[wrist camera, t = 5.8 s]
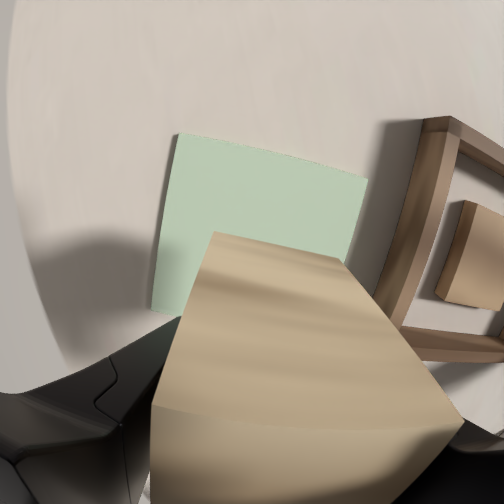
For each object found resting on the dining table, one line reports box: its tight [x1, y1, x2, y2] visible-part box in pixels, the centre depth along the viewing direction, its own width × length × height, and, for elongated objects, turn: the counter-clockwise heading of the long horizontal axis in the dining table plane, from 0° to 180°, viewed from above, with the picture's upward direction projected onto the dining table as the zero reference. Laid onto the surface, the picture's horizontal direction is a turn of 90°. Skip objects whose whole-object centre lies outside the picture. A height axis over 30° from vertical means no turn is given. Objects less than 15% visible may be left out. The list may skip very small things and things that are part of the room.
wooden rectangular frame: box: [372, 116, 504, 363], centre depth 18 cm, size 15×17×3 cm
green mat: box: [151, 133, 368, 317], centre depth 18 cm, size 11×11×1 cm
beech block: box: [150, 231, 465, 504], centre depth 8 cm, size 4×4×8 cm
